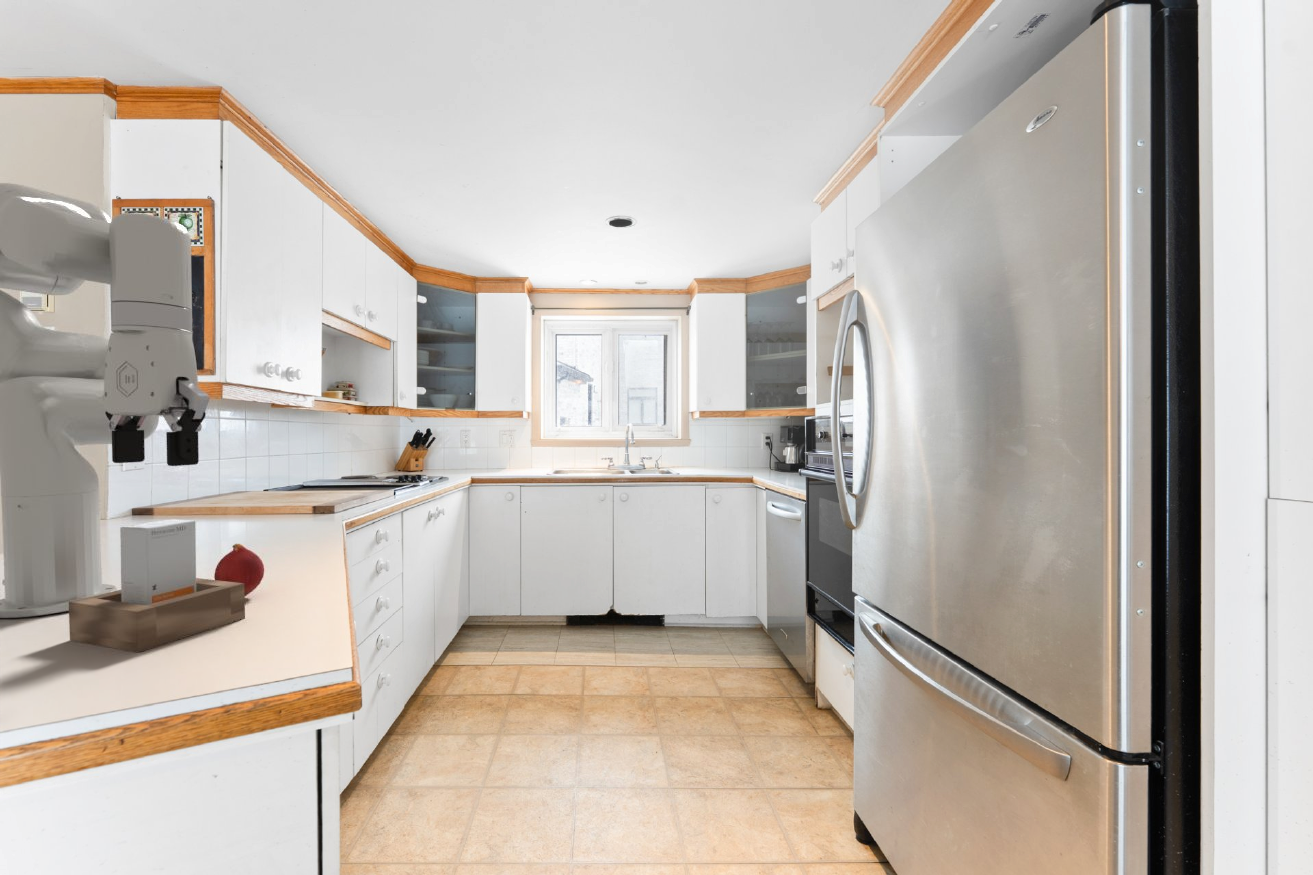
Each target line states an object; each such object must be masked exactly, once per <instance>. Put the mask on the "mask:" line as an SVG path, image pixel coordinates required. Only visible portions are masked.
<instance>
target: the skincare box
mask: <svg viewBox="0 0 1313 875" xmlns="http://www.w3.org/2000/svg"><path fill="white" fill-rule="evenodd" d="M196 523H197V522H196V520H189V519H187V520H186V519H174V518H172V519H164V520H157V521H150V522H149V521H148V522H144V523H140V524H139V523H138V524H134V525H125V526H121V527H120V529H119V531H120V587H121V588H120V590H121V602H124V603H131V604H138V605H149V604H153V603H157V602H160V601H164V600H168V599H172V598H176V597H180V596H183V595H187V594H191V593H195V592H196V578H197V558H196V557H197V547H196V546H197V545H196V542H197V540H196V537H197V535H196V530H197V529H196V526H197V525H196Z"/></svg>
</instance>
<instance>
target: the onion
mask: <svg viewBox="0 0 1313 875" xmlns="http://www.w3.org/2000/svg"><path fill="white" fill-rule="evenodd" d="M232 548H233V550H231V551H230V552H228V553H227V554H225V555H224V556H223V557H222V558H221V559H220V560H219V561H218V563H217V565H216V567H215V569H214V577H213V578H214V580H218V581H227V582H236V583H244V593H245V597H247V596H248V595H250V594H251V593H252V592H254V591H255V590H256V589H257V587H258V586H259V585H260V584H261V581H262V580H263V579H264V575H265V565H264V563H263V561H262V559H261V557H260V556H258V554H256V553H255V552H254V551H252V550H250V549H248V548H247V547H245V546H244V545H243V544H242V543H234V544H233V545H232Z"/></svg>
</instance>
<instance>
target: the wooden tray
mask: <svg viewBox="0 0 1313 875" xmlns="http://www.w3.org/2000/svg"><path fill="white" fill-rule="evenodd" d="M245 600H246V596H245V593H244V583H236V582H227V581H218V580H215V579H209V578H199V577H196V592H195V593H191V594H187V595H183V596H180V597H176V598H172V599H168V600H164V601H160V602H157V603H153V604H149V605H138V604H131V603H124V602H121V589H118V590H117V591H113V592H109V593H105V594H100V595H96V596H91V597H87V598H83V599H78V600H74V601H70V602H69V611H68V621H69V622H68V623H69V627H68V628H69V641H72V642H73V641H74V642H79V643H83V644H84V643H85V644H90V645H94V646H101V647H105V648H111V649H112V648H113V649H118V650H123V651H129V652H135V653H141V652H144V651H148V650H150V649H153V648H156V647H159V646H160V647H161V646H163V645H166V644H170V643H173V642H175V641H176V642H177V641H178V639H179V640H182V639H185V638H188V637H190V636H194V635H197V634H201V633H204V632H207V631H209V630H213V629H215V628H216V629H217V628H219V627H222V626H225V625H228V624H231V623H234V621H235V622H238V621H240V619H241V620H243V619H246V602H245ZM172 641H173V642H172Z"/></svg>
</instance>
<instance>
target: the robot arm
mask: <svg viewBox="0 0 1313 875" xmlns="http://www.w3.org/2000/svg"><path fill="white" fill-rule="evenodd" d="M86 281H88V282H94V283H100V284H107V285H109V286H110V287H109V288H110V335H109V339H108V338H106V337H103V336H99V335H94V334H88V333H87V334H85V333H78V332H68V331H60V330H55V329H50V328H46V327H44V326H42V324H41V323H40V321H39V320H38V318H37V316H36V315H35V314H34V312H33V311H32V310H31V309H30V308H29V307H28V306H27V305H26V304H24V303H23V302H22V301H21V300H19V299H17V298H16V297H14V296H12V295H11V294H9V293H7V292H6V291H4V290H1V289H6V290H13V291H20V292H24V293H25V292H26V293H34V294H40V295H48V296H65V295H69V294H71V293H74V292H75V291H77V290H78V289H79V288H80V287H81V286H82V285H83V284H84V283H85V282H86ZM192 288H193V287H192V239H191V235H190V233H189V231H188V229H186V227H184V226H183V225H182V224H181V223H179V222H176V221H173V220H171V219H168V218H164V217H160V216H158V215H151V214H146V213H145V214H144V213H135V212H133V213H131V212H129V213H128V212H127V213H120V214H118V215H114V217H113V218H112V219H111V217H110V216H109V215H108V213H106V212H105V211H104V210H103V209H101V208H100V207H98V206H96V205H94V204H92V203H90V202H86V201H84V200H83V201H82V200H79V199H76V198H72V197H68V196H63V195H60V194H56V193H53V192H48V191H45V190H42V189H37V188H33V187H29V186H26V185H23V184H16V183H8V182H0V494H1V495H0V496H1V520H2V521H1V522H2V523H1V526H2V548H3V549H2V550H3V552H2V553H3V579H2V585H3V586H4V598H2V599H0V619H3V618H4V619H9V618H12V619H13V618H15V619H16V618H31V617H38V616H39V617H40V616H46V615H52V614H57V613H64V612H69V602H70V601H74V600H78V599H83V598H87V597H91V596H96V595H100V594H105V593H109V592H113V591H118V590H117V589H118V587H117V586H115V585H113V584H108V583H107V584H106V583H103V576H102V574H103V573H102V569H103V568H102V544H101V542H102V539H101V513H100V512H101V510H100V509H101V508H100V506H101V504H100V481H99V476H98V473H97V472H96V470H95V467H94V466H93V465H92V464H91V463H90V462H89V461H88V460H87V459H86V458H85V457H84V456H83V455H82V454H81V453H80V452H79V450H77V449H76V448H75V447H77V446H87V445H89V446H91V445H111V461H112V462H113V463H114V464H124V463H142V462H144V461H145V458H146V457H145V454H146V453H145V452H146V451H145V440H146V439H148V438H150V437H151V436H152V435H153V434H154V433H155V432H156V430H157V427H158V425H159V420H160V416H162V417H163V418H164V420H165V423H166V424H167V425H168V427H169V428H170V431H166V464H167V466H168V467H178V466H180V467H181V466H194V465H197V464H199V462H200V461H199V460H200V459H199V457H200V454H199V432H201V431H202V428H203V426H202V423H203V421H204V419H205V418H206V410H207V407H208V405H209V402H210V396H209V394H208V393H207V392H205V391H203V390H202V389H201V388H200V387H199V378H198V369H197V360H196V358H197V357H196V352H195V346H194V341H193V306H192V305H193V297H192V296H193V295H192V293H193V292H192V291H193V289H192ZM178 417H179V418H178Z"/></svg>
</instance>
